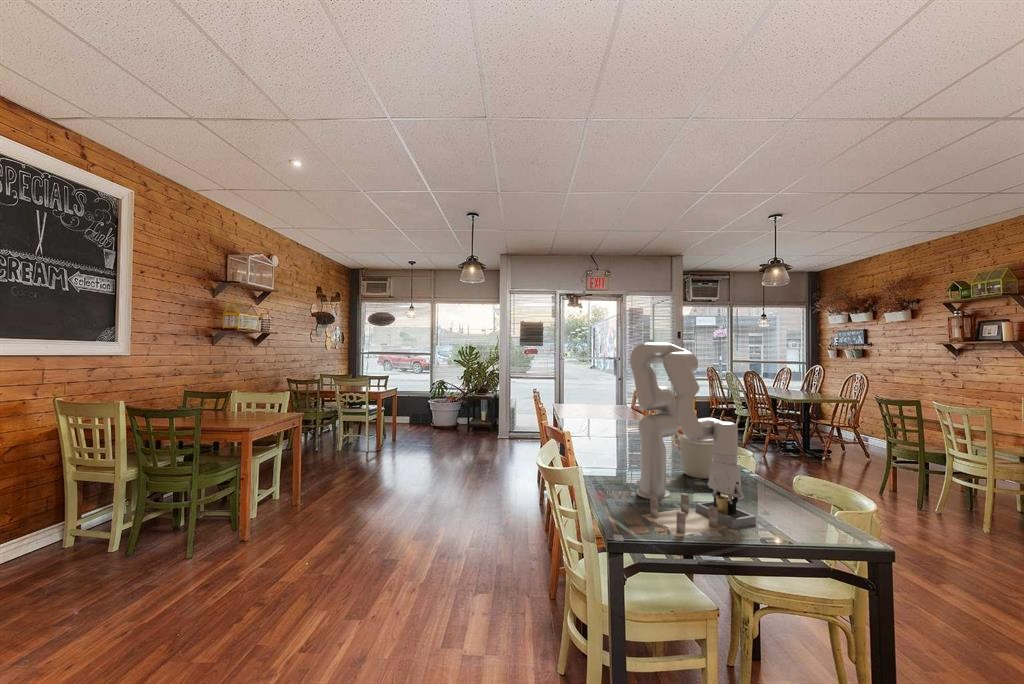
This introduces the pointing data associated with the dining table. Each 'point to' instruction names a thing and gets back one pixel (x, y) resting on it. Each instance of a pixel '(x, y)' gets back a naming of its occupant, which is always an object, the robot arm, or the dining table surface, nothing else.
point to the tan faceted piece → (722, 504)
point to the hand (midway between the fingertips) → (724, 511)
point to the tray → (741, 521)
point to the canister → (696, 456)
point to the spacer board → (689, 522)
